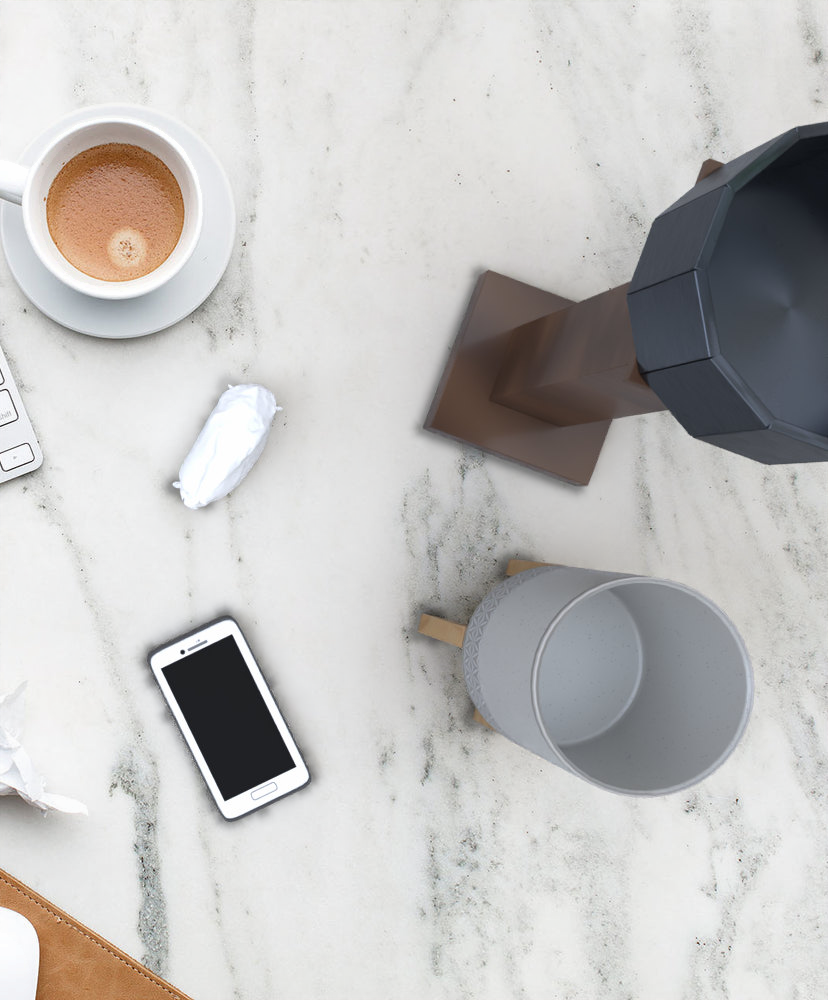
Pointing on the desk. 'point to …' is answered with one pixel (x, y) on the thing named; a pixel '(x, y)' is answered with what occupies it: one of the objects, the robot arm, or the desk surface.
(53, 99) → the desk surface
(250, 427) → the wrapped goat cheese
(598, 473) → the desk surface
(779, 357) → the bowl
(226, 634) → the cell phone
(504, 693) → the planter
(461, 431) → the stand
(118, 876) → the desk surface
